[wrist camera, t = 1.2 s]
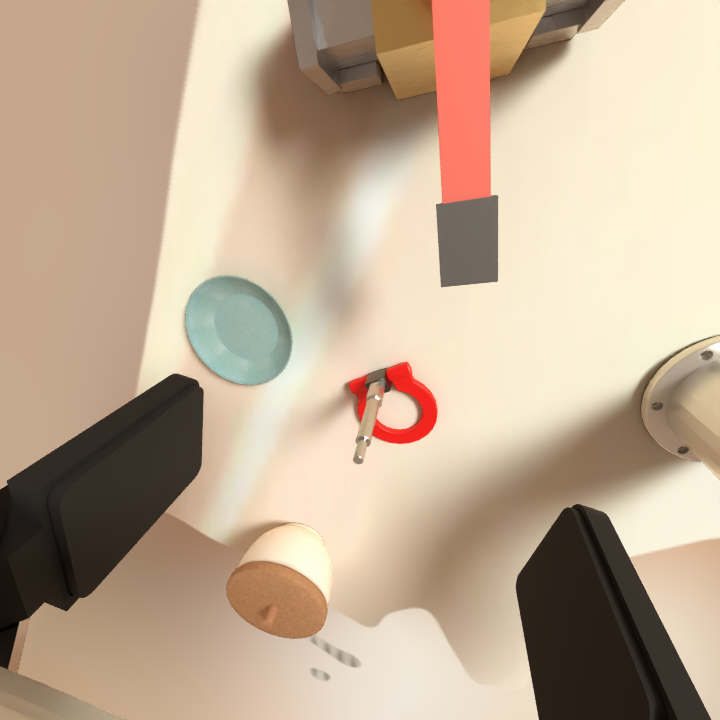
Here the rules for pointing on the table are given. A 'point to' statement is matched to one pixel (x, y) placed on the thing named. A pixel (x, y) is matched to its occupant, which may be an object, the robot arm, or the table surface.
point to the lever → (464, 143)
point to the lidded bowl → (284, 582)
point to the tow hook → (371, 399)
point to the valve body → (420, 38)
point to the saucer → (238, 330)
